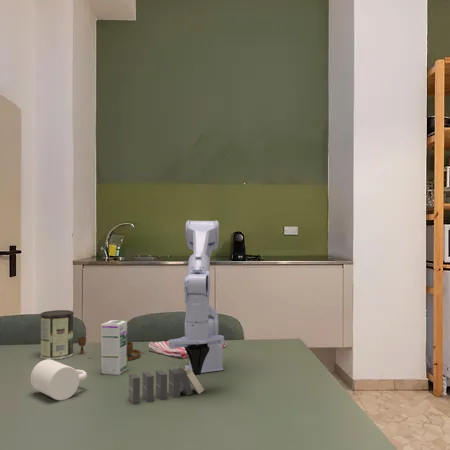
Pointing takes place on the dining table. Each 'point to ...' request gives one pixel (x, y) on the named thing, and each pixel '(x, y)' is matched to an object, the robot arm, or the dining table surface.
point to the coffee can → (56, 334)
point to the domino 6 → (194, 381)
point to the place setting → (129, 348)
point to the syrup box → (114, 347)
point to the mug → (56, 379)
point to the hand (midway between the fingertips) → (196, 374)
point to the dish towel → (164, 349)
